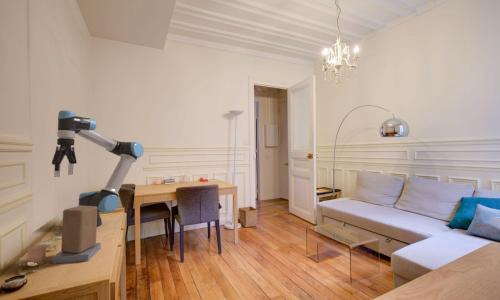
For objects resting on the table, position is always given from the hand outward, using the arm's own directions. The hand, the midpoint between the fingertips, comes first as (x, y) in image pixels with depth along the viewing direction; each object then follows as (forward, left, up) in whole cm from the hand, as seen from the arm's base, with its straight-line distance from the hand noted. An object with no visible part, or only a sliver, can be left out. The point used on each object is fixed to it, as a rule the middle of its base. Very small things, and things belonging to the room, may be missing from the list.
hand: (64, 175), depth 126 cm
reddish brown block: (+27, +4, -37) cm, 46 cm away
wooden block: (+22, +18, -34) cm, 44 cm away
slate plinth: (+22, +18, -37) cm, 46 cm away
